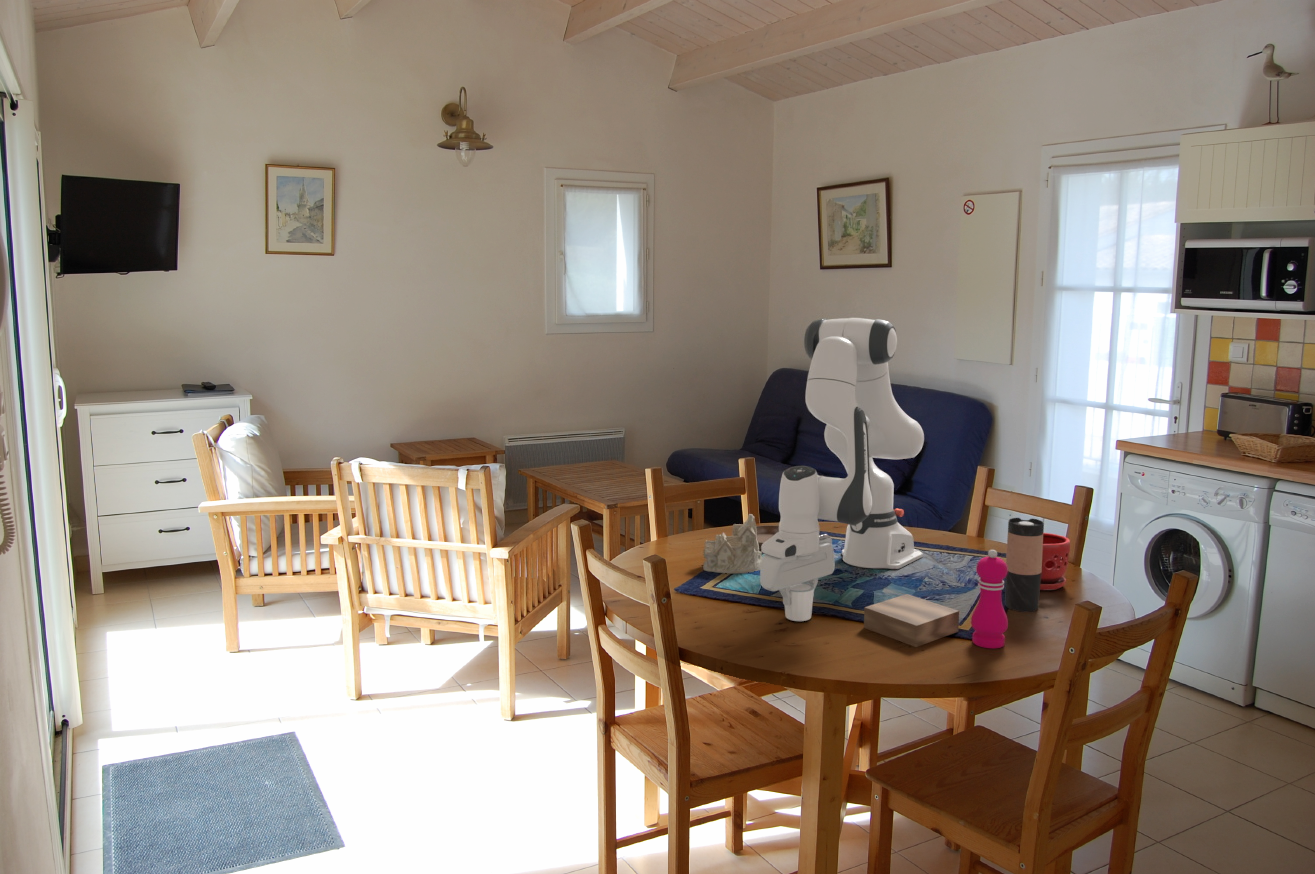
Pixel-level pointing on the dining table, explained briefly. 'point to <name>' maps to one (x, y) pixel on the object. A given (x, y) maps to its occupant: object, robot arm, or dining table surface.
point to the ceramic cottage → (734, 550)
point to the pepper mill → (990, 603)
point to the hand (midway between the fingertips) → (798, 600)
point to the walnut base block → (911, 620)
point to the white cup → (800, 602)
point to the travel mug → (1023, 564)
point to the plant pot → (1054, 561)
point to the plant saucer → (765, 533)
